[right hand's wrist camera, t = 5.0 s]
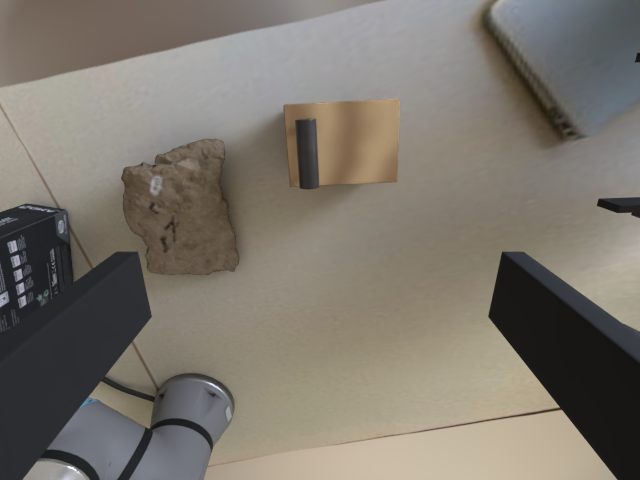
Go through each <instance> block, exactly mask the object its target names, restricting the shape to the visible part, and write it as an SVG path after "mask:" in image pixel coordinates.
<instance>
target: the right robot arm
mask: <svg viewBox="0 0 640 480" xmlns="http://www.w3.org/2000/svg"><path fill="white" fill-rule="evenodd" d="M151 317H152V316H151V311H150V306H149V302H148V297H147V292H146V288H145V283H144V278H143V274H142V269H141V264H140V260H139V255H138V252H116V253H114V254H113V255H111V256H110V257H109V258H107V259H106V260H105V261H103V262H102V263H100V264H99V265H98V266H96V267H95V268H94V269H92V270H91V271H89V272H88V273H87V274H85V275H84V276H83V277H81V278H80V279H78V280H77V281H76V282H74V283H73V284H72V285H70V286H69V287H67V288H66V289H65V290H63V291H62V292H60V293H59V294H58V295H56V296H55V297H54V298H52V299H51V300H49V301H48V302H47V303H45V304H44V305H43V306H41V307H40V308H38V309H37V310H36V311H34V312H33V313H32V314H30V315H29V316H27V317H26V318H25V319H23V320H22V321H21V322H19V323H18V324H16V325H15V326H14V327H12V328H10V329H8V330H6V331H4V332H2V333H0V480H203V479H204V476H205V472H206V469H207V466H208V462H209V459H210V456H211V452H212V449H213V447H214V445H215V444H216V442H217V441H218V440H219V438H220V437H221V435H222V434H223V432H224V431H225V430H226V428H227V427H228V425H229V424H230V422H231V419H232V416H233V412H234V400H233V397H232V395H231V393H230V392H229V391H228V389H227V388H226V387H225V386H224V385H222V384H221V383H220V382H218V381H217V380H215V379H213V378H210V377H208V376H204V375H200V374H183V375H178V376H175V377H173V378H171V379H169V380H168V381H166V382H165V383H164V384H163V385H162V386H161V388H160V390H159V392H158V393H157V395H156V397H153V396H150V395H147V394H144V393H141V392H138V391H135V390H132V389H129V388H126V387H123V386H121V385H119V384H117V383H115V382H113V381H111V380H109V379H108V378H106V377H104V376H105V375H106V374H107V372H108V371H109V370H110V369H111V367H112V366H113V365H114V364H115V362H116V361H117V360H118V359H119V357H120V356H121V355H122V354H123V352H124V351H125V350H126V348H127V347H128V346H129V345H130V343H131V342H132V341H133V340H134V338H135V337H136V336H137V335H138V333H139V332H140V331H141V330H142V328H143V327H144V326H145V324H146V323H147V322H148V321H149V319H150V318H151ZM488 317H489V318H490V319H491V321H492V322H493V323H494V324H495V326H496V327H497V328H498V330H499V331H500V332H501V333H502V335H503V336H504V337H505V338H506V340H507V341H508V342H509V343H510V345H511V346H512V347H513V348H514V350H515V351H516V352H517V354H518V355H519V356H520V357H521V359H522V360H523V361H524V362H525V364H526V365H527V366H528V367H529V369H530V370H531V371H532V372H533V374H534V375H535V376H536V377H537V379H538V380H539V381H540V383H541V384H542V385H543V386H544V388H545V389H546V390H547V391H548V393H549V394H550V395H551V396H552V398H553V399H554V400H555V401H556V403H557V404H558V405H559V407H560V408H561V409H562V410H563V411H564V413H565V414H566V415H567V417H568V418H569V419H570V420H571V422H572V423H573V424H574V425H575V427H576V428H577V429H578V430H579V432H580V433H581V434H582V435H583V437H584V438H585V439H586V441H587V442H588V443H589V444H590V446H591V447H592V448H593V449H594V451H595V452H596V453H597V454H598V456H599V457H600V458H601V460H602V461H603V462H604V463H605V465H606V466H607V467H608V468H609V470H610V471H611V472H612V473H613V475H614V476H615V477H616V478H617V480H640V332H639V331H637V330H635V329H633V328H631V327H629V326H627V325H625V324H622V323H621V322H619V321H618V320H617V319H615V318H614V317H613V316H611V315H610V314H608V313H607V312H606V311H604V310H603V309H602V308H600V307H599V306H597V305H596V304H595V303H593V302H592V301H591V300H589V299H588V298H586V297H585V296H584V295H582V294H581V293H580V292H578V291H577V290H575V289H574V288H573V287H571V286H570V285H568V284H567V283H566V282H564V281H563V280H562V279H560V278H559V277H557V276H556V275H555V274H553V273H552V272H551V271H549V270H548V269H546V268H545V267H544V266H542V265H541V264H540V263H538V262H537V261H535V260H534V259H533V258H531V257H530V256H529V255H527V254H526V253H524V252H502V255H501V260H500V264H499V269H498V274H497V278H496V283H495V288H494V292H493V297H492V302H491V306H490V311H489V316H488ZM100 381H102V382H104V383H106V384H108V385H110V386H112V387H114V388H116V389H118V390H120V391H123V392H125V393H128V394H131V395H134V396H137V397H140V398H143V399H146V400H149V401H152V402H154V405H153V412H152V418H151V425H150V429H148V428H146V427H144V426H142V425H141V424H139V423H137V422H135V421H133V420H132V419H130V418H128V417H126V416H125V415H123V414H121V413H119V412H117V411H116V410H114V409H112V408H110V407H109V406H107V405H105V404H103V403H101V401H99V400H97V399H92V398H90V397H88V396H89V395H90V394H91V393H92V391H93V390H94V389H95V388H96V386H97V385H98V384H99V383H100Z"/></svg>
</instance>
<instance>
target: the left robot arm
mask: <svg viewBox="0 0 640 480" xmlns="http://www.w3.org/2000/svg"><path fill="white" fill-rule="evenodd" d="M635 62H640V53H637V56H636V60H635ZM597 206H599V207H602V208H605V209H608V210H611V211H614V212H616V213H630V212H632V214H631V215H633V216H635V217H638V218H640V197H635V198H607V199H599V200H598V203H597Z"/></svg>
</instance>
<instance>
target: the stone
mask: <svg viewBox="0 0 640 480" xmlns="http://www.w3.org/2000/svg"><path fill="white" fill-rule="evenodd" d="M224 156H225V148H224V143H223V141H221V140H217V139H213V140H211V139H204V140H200V141H196V142H193V143H190V144H187V145H186V146H180V147H178V148H175V149H173V150H172V151H170V152H167V153H165V154H159V155H157V156H156V159H155V165H149V164H147V163H145V162H142V164H141V165H138V166H134V167H125V168H124V170H123V174H122V177H121V179H122V181H123V182H124V185H125V193H124V195H123V198H124V200H123V210H124V214H125V218H126V221H127V223H128V225H129V227H130V229H131V230H132V232H134V233H135V234H138V235H139V236H141V237H142V238H143V240H144V242H145V243H146V244H147V245H148V249H147V253H146V254H145V257H146V259H147V264H148V265H147V270H148V271H149V272H152V273H157V274H167V275H175V274H196V275H200V274H207V275H209V274H210V273H212V272H215V271H222V270H229V271H235V268H236V266H237V265H238V263H239V255H238V252H237V250H236V248H235V245H236V236H235V233H234V232H233V230H232V226H231V223H230V222H229V215H228V206H229V204H228V201H227V199H224V198H223V197H222V188H221V187H220V183H219V181H220V176H221V174H222V164H223V163H224V160H225V159H224Z"/></svg>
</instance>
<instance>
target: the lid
mask: <svg viewBox="0 0 640 480" xmlns="http://www.w3.org/2000/svg"><path fill="white" fill-rule="evenodd" d="M399 111H400V99H387V100H367V101H348V102H328V103H309V104H289V105H284V115H285V128H286V140H287V153H288V165H289V178H290V187H299V186H300V188H301V189H315V188H318V187H319V186H320V185H342V184H363V183H384V182H397V168H398V140H399Z"/></svg>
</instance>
